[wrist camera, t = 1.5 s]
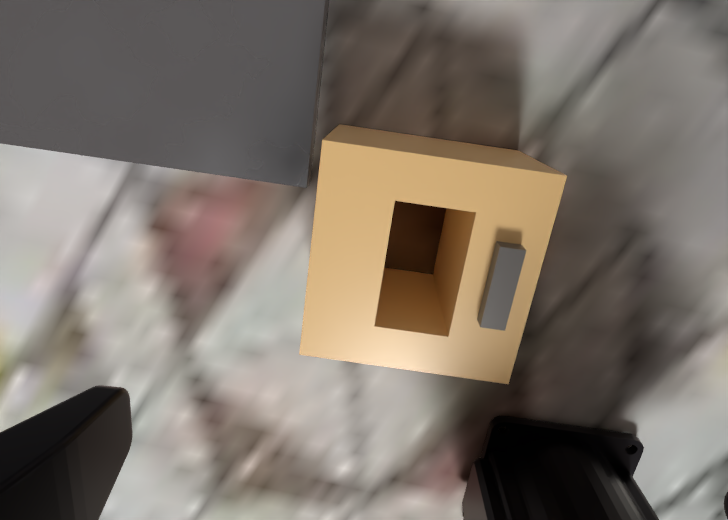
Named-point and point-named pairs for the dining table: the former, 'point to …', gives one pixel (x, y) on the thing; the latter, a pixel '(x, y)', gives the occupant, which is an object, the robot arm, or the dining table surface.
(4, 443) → the robot arm
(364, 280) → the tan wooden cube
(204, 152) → the hub plate
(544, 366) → the dining table surface
